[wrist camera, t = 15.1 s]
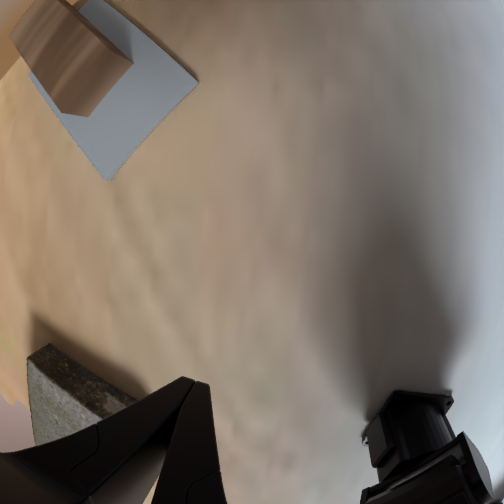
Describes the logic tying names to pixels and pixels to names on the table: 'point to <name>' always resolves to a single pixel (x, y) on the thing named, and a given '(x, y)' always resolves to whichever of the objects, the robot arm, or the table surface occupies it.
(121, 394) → the stone block
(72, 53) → the walnut slab
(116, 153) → the mat
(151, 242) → the table surface
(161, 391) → the robot arm
